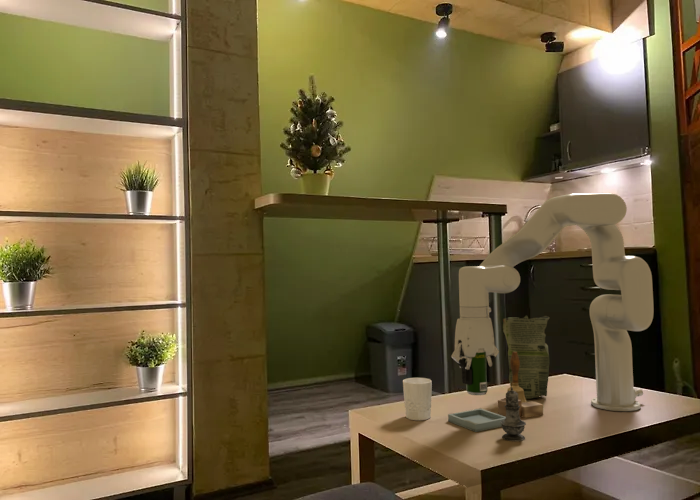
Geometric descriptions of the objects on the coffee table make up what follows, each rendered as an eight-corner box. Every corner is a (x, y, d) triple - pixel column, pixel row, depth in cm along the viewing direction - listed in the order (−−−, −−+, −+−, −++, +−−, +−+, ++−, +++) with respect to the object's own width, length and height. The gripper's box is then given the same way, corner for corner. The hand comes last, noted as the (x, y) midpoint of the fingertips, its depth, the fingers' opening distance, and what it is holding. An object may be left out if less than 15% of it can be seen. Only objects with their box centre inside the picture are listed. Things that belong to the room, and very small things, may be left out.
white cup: (435, 414, 151) (433, 378, 151) (429, 422, 143) (428, 384, 144) (407, 412, 153) (406, 377, 154) (400, 420, 146) (399, 382, 146)
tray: (480, 414, 149) (480, 408, 149) (509, 424, 139) (508, 417, 139) (448, 421, 144) (448, 414, 144) (475, 431, 134) (475, 424, 134)
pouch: (502, 395, 169) (499, 315, 170) (525, 389, 176) (522, 312, 177) (532, 402, 160) (529, 317, 161) (556, 395, 167) (552, 314, 168)
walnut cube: (507, 413, 150) (506, 397, 150) (522, 416, 146) (521, 400, 146) (498, 417, 147) (497, 400, 147) (512, 420, 143) (512, 403, 143)
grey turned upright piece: (497, 434, 132) (495, 384, 132) (520, 433, 132) (518, 383, 132) (506, 442, 126) (504, 390, 126) (530, 441, 126) (528, 389, 127)
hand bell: (504, 402, 161) (502, 349, 161) (533, 405, 157) (531, 350, 158) (498, 409, 154) (496, 353, 154) (528, 412, 150) (526, 354, 150)
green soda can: (491, 393, 141) (490, 347, 142) (478, 396, 138) (477, 349, 138) (475, 389, 145) (473, 345, 146) (462, 393, 142) (460, 347, 142)
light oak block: (533, 412, 151) (533, 401, 151) (543, 415, 147) (542, 404, 147) (515, 414, 149) (515, 403, 149) (524, 418, 145) (524, 407, 145)
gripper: (489, 310, 149) (491, 376, 149) (439, 314, 142) (441, 383, 141) (509, 312, 143) (511, 381, 142) (457, 316, 135) (459, 389, 134)
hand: (476, 381), depth 142 cm, fingers closed on green soda can, 5 cm apart
